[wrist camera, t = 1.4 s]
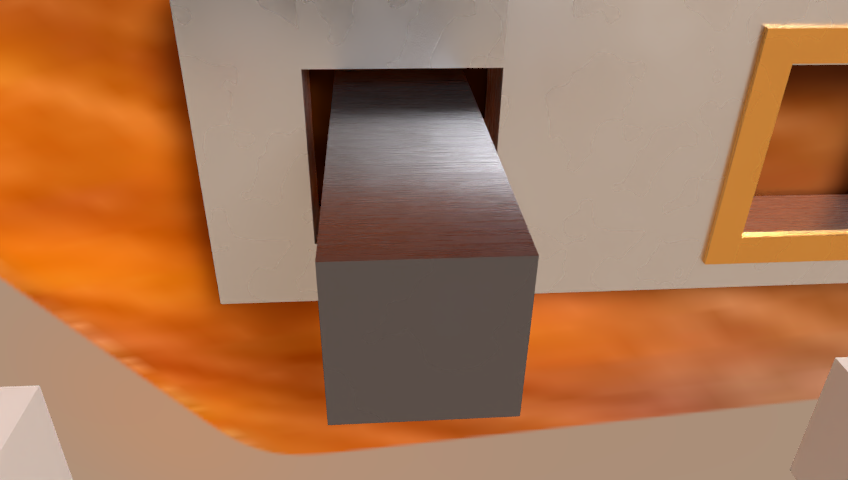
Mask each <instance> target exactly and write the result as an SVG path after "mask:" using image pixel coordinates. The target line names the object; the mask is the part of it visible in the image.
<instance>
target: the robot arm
mask: <svg viewBox="0 0 848 480" xmlns="http://www.w3.org/2000/svg"><path fill="white" fill-rule="evenodd" d="M790 471H791V473H792V474H793V475H794V477H795V479H796V480H848V357H842V358H835V360H834V362H833V365H832V367H831V370H830V372H829V375H828V377H827V380H826V382H825V384H824V387H823V389H822V392H821V394H820V397H819V399H818V402H817V404H816V407H815V409H814V412H813V414H812V416H811V419H810V421H809V424H808V427H807V429H806V431H805V434H804V436H803V439H802V441H801V444H800V446H799V448H798V451H797V454H796V456H795V458H794V461H793V463H792V466H791V468H790ZM0 480H73V479H72V476H71V474H70V470H69V468H68V465H67V462H66V459H65V456H64V453H63V451H62V448H61V445H60V442H59V440H58V437H57V434H56V431H55V428H54V425H53V422H52V420H51V417H50V414H49V411H48V408H47V405H46V402H45V400H44V397H43V394H42V391H41V388H40V386H13V387H0Z"/></svg>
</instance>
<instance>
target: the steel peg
mask: <svg viewBox="0 0 848 480" xmlns="http://www.w3.org/2000/svg"><path fill="white" fill-rule="evenodd" d="M538 260H539V254H538V252H537V249H536V247H535V244H534V242H533V240H532V237H531V235H530V232H529V230H528V227H527V225H526V222H525V220H524V218H523V215H522V213H521V210H520V208H519V205H518V203H517V200H516V198H515V196H514V193H513V191H512V188H511V186H510V183H509V181H508V178H507V176H506V174H505V171H504V169H503V166H502V164H501V161H500V159H499V156H498V154H497V152H496V149H495V147H494V144H493V142H492V139H491V137H490V134H489V132H488V130H487V127H486V125H485V122H484V120H483V117H482V115H481V113H480V110H479V108H478V105H477V103H476V100H475V98H474V95H473V93H472V91H471V88H470V86H469V83H468V81H467V78H466V76H465V73H464V71H463V69H354V70H335V75H334V84H333V94H332V104H331V113H330V123H329V133H328V142H327V152H326V162H325V171H324V181H323V191H322V200H321V210H320V220H319V229H318V239H317V249H316V258H315V267H316V280H317V292H318V305H319V318H320V330H321V343H322V356H323V368H324V381H325V394H326V407H327V419H328V425H341V424H362V423H383V422H405V421H426V420H447V419H469V418H490V417H512V416H520V409H521V401H522V393H523V384H524V376H525V368H526V360H527V351H528V343H529V335H530V326H531V318H532V310H533V301H534V293H535V285H536V277H537V268H538Z"/></svg>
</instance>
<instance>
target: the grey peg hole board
mask: <svg viewBox="0 0 848 480" xmlns="http://www.w3.org/2000/svg"><path fill="white" fill-rule="evenodd" d="M170 6H171V12H172V18H173V24H174V30H175V36H176V41H177V47H178V53H179V59H180V65H181V71H182V77H183V83H184V89H185V95H186V101H187V107H188V113H189V118H190V124H191V130H192V136H193V142H194V148H195V154H196V160H197V166H198V172H199V178H200V184H201V190H202V195H203V201H204V207H205V213H206V219H207V225H208V231H209V237H210V243H211V249H212V255H213V261H214V267H215V272H216V278H217V284H218V290H219V296H220V302H221V304H237V303H267V302H296V301H318V292H317V280H316V267H315V258H316V249H317V239H318V229H319V220H320V210H321V206H319V202H318V188H317V174H316V160H315V147H314V133H313V119H312V105H311V91H310V77H309V69H408V68H488V72H487V88H486V103H485V119H484V122H485V125H486V127H487V130H488V132H489V134H490V137H491V139H492V142H493V144H494V147H495V149H496V152H497V154H498V156H499V159H500V161H501V164H502V166H503V169H504V171H505V174H506V176H507V178H508V181H509V183H510V186H511V188H512V191H513V193H514V196H515V198H516V200H517V203H518V205H519V208H520V210H521V213H522V215H523V218H524V220H525V222H526V225H527V227H528V230H529V232H530V235H531V237H532V240H533V242H534V244H535V247H536V249H537V252H538V254H539V260H538V268H537V277H536V285H535V293H563V292H593V291H622V290H652V289H682V288H711V287H741V286H771V285H800V284H830V283H848V194H827V195H785V196H754V193H755V190H756V186H757V183H758V180H759V176H760V173H761V169H762V166H763V163H764V159H765V156H766V152H767V149H768V146H769V142H770V139H771V135H772V132H773V129H774V125H775V122H776V118H777V115H778V112H779V108H780V105H781V101H782V98H783V95H784V91H785V88H786V84H787V81H788V78H789V74H790V71H791V67H792V65H848V0H170Z"/></svg>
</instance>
